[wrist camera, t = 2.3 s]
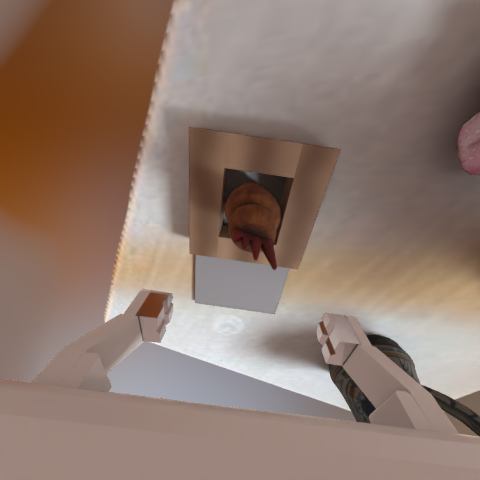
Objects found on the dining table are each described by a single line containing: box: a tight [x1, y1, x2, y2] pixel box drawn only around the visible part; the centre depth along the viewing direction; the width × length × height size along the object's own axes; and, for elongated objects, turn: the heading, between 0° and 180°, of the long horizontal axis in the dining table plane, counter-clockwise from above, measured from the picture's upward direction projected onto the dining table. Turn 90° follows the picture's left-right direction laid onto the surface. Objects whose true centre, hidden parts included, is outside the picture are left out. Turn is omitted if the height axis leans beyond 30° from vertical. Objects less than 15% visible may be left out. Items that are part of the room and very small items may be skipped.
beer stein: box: [329, 335, 480, 436], centre depth 32 cm, size 17×19×25 cm
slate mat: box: [195, 255, 290, 314], centre depth 35 cm, size 16×12×1 cm
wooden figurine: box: [224, 182, 280, 270], centre depth 21 cm, size 7×6×15 cm
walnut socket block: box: [189, 127, 341, 269], centre depth 25 cm, size 16×16×4 cm
